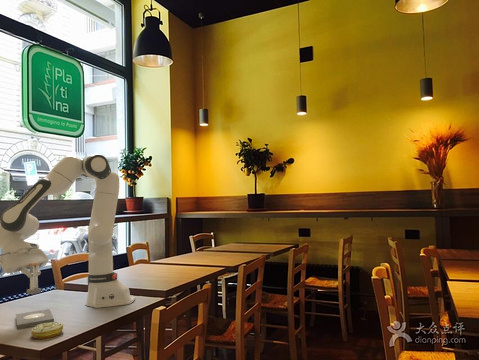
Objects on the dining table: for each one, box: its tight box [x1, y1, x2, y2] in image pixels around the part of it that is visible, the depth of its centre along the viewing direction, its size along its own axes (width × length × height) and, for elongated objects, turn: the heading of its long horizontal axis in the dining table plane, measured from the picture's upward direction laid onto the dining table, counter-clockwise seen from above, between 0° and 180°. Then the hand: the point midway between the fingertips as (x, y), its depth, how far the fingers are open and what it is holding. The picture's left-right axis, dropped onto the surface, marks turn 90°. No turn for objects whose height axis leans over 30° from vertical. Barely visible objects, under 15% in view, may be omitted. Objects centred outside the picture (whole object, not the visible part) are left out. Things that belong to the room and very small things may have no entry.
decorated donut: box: [31, 321, 64, 340], centre depth 142 cm, size 10×11×4 cm
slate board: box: [15, 308, 55, 330], centre depth 161 cm, size 18×13×2 cm
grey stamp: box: [26, 262, 42, 295], centre depth 162 cm, size 4×4×12 cm
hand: (35, 275), depth 162 cm, fingers closed on grey stamp, 2 cm apart
